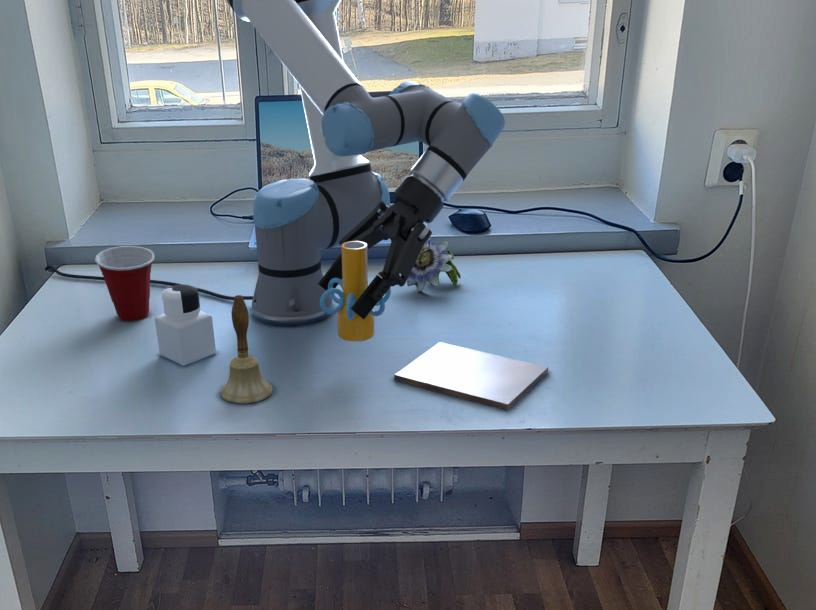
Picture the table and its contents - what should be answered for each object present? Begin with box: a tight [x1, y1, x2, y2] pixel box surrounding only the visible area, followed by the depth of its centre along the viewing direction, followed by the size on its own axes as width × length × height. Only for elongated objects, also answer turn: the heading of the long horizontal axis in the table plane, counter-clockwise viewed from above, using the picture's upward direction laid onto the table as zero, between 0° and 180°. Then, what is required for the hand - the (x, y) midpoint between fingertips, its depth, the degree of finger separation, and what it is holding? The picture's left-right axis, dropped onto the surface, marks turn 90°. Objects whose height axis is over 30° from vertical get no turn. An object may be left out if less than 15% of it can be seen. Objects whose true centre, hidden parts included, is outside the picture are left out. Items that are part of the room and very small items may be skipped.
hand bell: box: [220, 294, 274, 405], centre depth 142 cm, size 8×8×16 cm
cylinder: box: [320, 241, 392, 342], centre depth 146 cm, size 12×10×15 cm
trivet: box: [393, 341, 549, 411], centre depth 148 cm, size 20×15×1 cm
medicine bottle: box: [154, 284, 217, 367], centre depth 156 cm, size 7×7×12 cm
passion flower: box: [406, 236, 462, 293], centre depth 182 cm, size 11×11×12 cm
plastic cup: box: [94, 245, 155, 322], centre depth 171 cm, size 11×11×12 cm
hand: (340, 301), depth 145 cm, fingers closed on cylinder, 11 cm apart
